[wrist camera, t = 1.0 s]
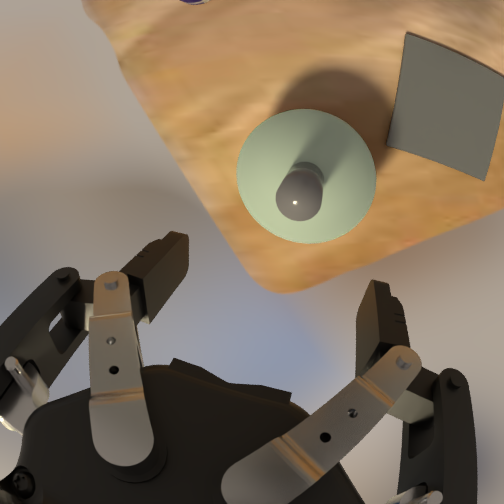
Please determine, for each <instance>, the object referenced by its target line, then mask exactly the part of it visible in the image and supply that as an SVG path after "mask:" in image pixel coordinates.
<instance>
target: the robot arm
mask: <svg viewBox="0 0 504 504" xmlns="http://www.w3.org/2000/svg"><path fill="white" fill-rule="evenodd" d="M188 266H189V237H188V235H187V234H182V233H178V232H174V231H170V232H169V233H168V234H167V235H166V236H165V237H164V238H163V239H162V240H161V239H158V240H155V241H153V242H151V243H149V244H148V245H147V246H145V247H144V248H143V249H142V251H140V252H139V253H138V254H137V256H135V257H134V258H133V259H132V260H131V261H130V262H128V263H127V264H126V265H125V266H124V267H123V268H122V269H121V270H120V271H119V272H118V271H110V272H106V273H104V274H101V275H100V276H99V277H98V278H97V279H96V280H82V279H80V276H79V272H78V271H77V270H76V269H75V268H71V267H65V268H61V269H58V270H56V271H55V272H53V273H52V274H51V275H50V276H49V277H48V278H47V279H46V280H45V281H44V282H43V283H42V284H41V285H40V286H38V287H37V288H36V289H35V290H34V291H33V292H32V293H31V294H30V295H29V296H28V297H27V298H26V299H25V300H24V301H23V302H22V304H20V305H19V306H18V307H17V308H16V310H15V311H14V312H13V313H12V314H11V315H10V316H9V317H8V318H7V319H6V320H5V321H4V322H3V323H2V325H1V326H0V422H1V423H2V424H3V425H4V426H5V427H6V428H7V429H9V430H12V431H17V432H18V433H20V434H21V435H22V436H23V438H22V446H21V452H20V456H19V459H18V462H17V465H16V467H15V469H14V470H13V471H12V472H11V473H10V474H9V475H8V476H6V477H5V478H4V479H2V480H1V481H0V504H365V503H364V501H363V500H362V498H361V497H360V495H359V493H358V492H357V490H356V488H355V487H354V485H353V483H352V482H351V480H350V479H349V477H348V475H347V474H346V472H345V470H344V469H343V467H342V465H341V464H340V462H339V461H340V460H341V459H342V458H343V457H344V456H345V455H346V454H347V453H348V452H350V451H351V450H352V449H353V447H355V446H356V445H357V444H358V443H359V442H360V441H361V440H362V439H363V438H364V437H365V436H366V434H368V433H369V432H370V431H371V429H372V428H373V427H374V426H375V425H376V424H377V423H378V422H379V421H380V420H381V418H383V416H384V415H385V414H386V413H387V414H390V415H392V416H394V417H396V418H398V419H401V420H403V431H402V449H401V462H400V474H399V482H398V490H397V496H394V497H393V498H391V499H390V500H388V502H387V503H386V504H477V452H476V438H475V427H474V419H473V411H472V404H471V397H470V391H469V385H468V382H467V380H466V378H465V376H464V375H463V374H462V373H461V372H460V371H458V370H456V369H453V368H447V369H444V370H443V371H442V372H441V373H440V374H439V375H438V374H436V373H434V372H432V371H429V370H427V369H425V368H423V367H422V363H421V359H420V357H419V356H418V354H417V353H416V352H415V351H414V350H412V349H411V348H410V342H409V337H408V331H407V325H406V320H405V317H404V310H403V306H402V304H401V303H400V301H399V300H398V298H397V297H393V296H391V293H390V287H389V284H388V283H385V282H381V281H376V280H371V281H370V283H369V285H368V288H367V290H366V292H365V295H364V297H363V300H362V302H361V304H360V306H359V309H358V312H357V318H356V371H355V372H356V373H355V379H354V380H353V381H351V383H349V384H348V385H347V386H346V387H345V388H343V389H342V390H341V391H340V392H339V393H338V394H336V395H335V396H334V397H333V398H332V399H330V400H329V401H328V402H327V403H326V404H324V405H323V406H322V407H321V408H319V409H318V410H317V411H315V412H314V413H313V414H312V415H309V414H308V413H307V412H306V411H305V410H304V409H302V408H301V407H299V406H298V405H296V404H295V403H293V402H291V401H290V398H291V394H292V393H291V392H287V391H283V390H279V389H274V388H271V387H267V386H263V385H249V384H248V385H247V384H233V383H228V382H226V381H224V380H222V379H220V378H219V377H217V376H215V375H214V374H212V373H210V372H208V371H207V370H205V369H203V368H202V367H199V366H196V365H193V364H190V363H187V362H185V361H182V360H179V359H176V358H173V360H172V362H171V363H170V365H151V366H145V367H144V364H143V358H142V353H141V347H140V342H139V335H138V330H137V324H138V323H139V322H140V321H142V322H145V323H147V324H150V323H151V322H152V320H153V319H154V318H155V316H156V315H157V314H158V312H159V311H160V310H161V308H162V307H163V306H164V304H165V303H166V301H167V300H168V299H169V297H170V296H171V295H172V294H173V292H174V291H175V289H176V288H177V287H178V285H179V284H180V283H181V282H182V280H183V279H184V277H185V276H186V274H187V271H188ZM59 313H61V316H62V318H61V319H60V320H59V321H58V323H57V324H56V325H55V326H54V327H53V329H52V330H51V331H50V332H49V326H50V323H51V322H52V321H53V320H54V318H55V317H56V316H57V315H58V314H59ZM88 334H89V368H90V369H89V370H90V388H87V389H85V390H82V391H79V392H77V393H74V394H71V395H69V396H66V397H63V398H60V399H57V400H54V401H51V402H47V401H48V398H49V388H50V386H51V385H52V383H53V382H54V380H55V379H56V377H57V376H58V374H59V373H60V372H61V370H62V369H63V367H64V366H65V365H66V363H67V362H68V361H69V359H70V357H71V356H72V355H73V353H74V352H75V351H76V349H77V348H78V347H79V345H80V344H81V343H82V342H83V340H84V339H85V337H86V336H87V335H88Z"/></svg>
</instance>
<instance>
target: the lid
mask: <svg viewBox="0 0 504 504" xmlns="http://www.w3.org/2000/svg"><path fill="white" fill-rule="evenodd" d="M236 175H237V184H238V189H239V193H240V195H241V198H242V201H243V203H244V205H245V206H246V208H247V210H248V211H249V213H250V214H251V215H252V216H253V218H254V219H255V220H256V221H257V222H258V223H259V224H260V225H261V226H262V227H264V228H265V229H267V230H268V231H269V232H271V233H273V234H275V235H276V236H278V237H281V238H283V239H286V240H289V241H293V242H298V243H308V244H311V243H322V242H327V241H330V240H333V239H336V238H338V237H340V236H343V235H344V234H346V233H347V232H349V231H350V230H352V229H353V228H354V227H355V226H356V225H357V224H358V223H359V222H360V221H361V220H362V219H363V218H364V216H365V215H366V213H367V212H368V210H369V208H370V206H371V204H372V201H373V198H374V194H375V189H376V170H375V165H374V161H373V158H372V155H371V153H370V151H369V149H368V147H367V145H366V143H365V142H364V140H363V139H362V138H361V136H360V135H359V134H358V133H357V132H356V131H355V130H354V129H353V128H352V127H351V126H350V125H349V124H348V123H346V122H345V121H343V120H342V119H340V118H338V117H337V116H334V115H332V114H330V113H327V112H323V111H320V110H314V109H295V110H289V111H285V112H282V113H279V114H276V115H274V116H272V117H270V118H268V119H267V120H265V121H264V122H262V123H261V124H260V125H259V126H257V127H256V128H255V129H254V130H253V131H252V133H251V134H250V135H249V136H248V138H247V139H246V141H245V142H244V144H243V147H242V149H241V151H240V154H239V157H238V162H237V174H236Z"/></svg>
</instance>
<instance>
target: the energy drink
mask: <svg viewBox="0 0 504 504" xmlns="http://www.w3.org/2000/svg"><path fill="white" fill-rule="evenodd" d="M180 1H183V2H185V3H187V4H191V5H198V4H203V3H206V2H208V1H210V0H180Z"/></svg>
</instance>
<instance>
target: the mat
mask: <svg viewBox="0 0 504 504" xmlns="http://www.w3.org/2000/svg"><path fill="white" fill-rule="evenodd" d="M503 102H504V78H503V77H502V76H500V75H498V74H497V73H495V72H493V71H491V70H489V69H488V68H486V67H484V66H482V65H480V64H478V63H476V62H474V61H472V60H470V59H468V58H466V57H464V56H462V55H460V54H457V53H455V52H453V51H451V50H448V49H446V48H444V47H441V46H439V45H436V44H434V43H431V42H429V41H426V40H423V39H421V38H418V37H415V36H412V35H409V34H405V40H404V48H403V56H402V63H401V69H400V76H399V82H398V87H397V93H396V99H395V104H394V109H393V114H392V119H391V124H390V128H389V133H388V137H387V142H386V145H387V146H390V147H393V148H396V149H400V150H403V151H406V152H409V153H412V154H415V155H418V156H421V157H424V158H427V159H429V160H432V161H435V162H438V163H440V164H443V165H446V166H448V167H451V168H454V169H456V170H459V171H461V172H464V173H466V174H468V175H471V176H473V177H475V178H478V179H480V180H482V181H485V178H486V174H487V171H488V168H489V164H490V161H491V157H492V153H493V149H494V146H495V141H496V137H497V133H498V128H499V124H500V119H501V114H502V108H503Z"/></svg>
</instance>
